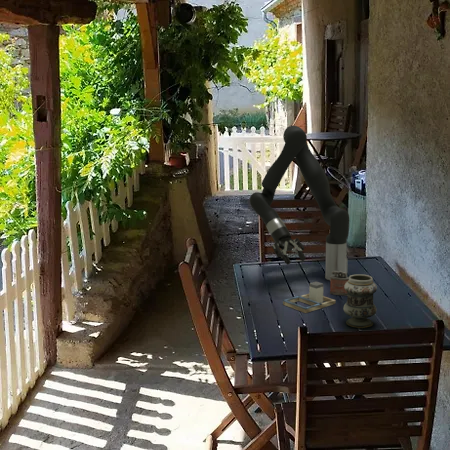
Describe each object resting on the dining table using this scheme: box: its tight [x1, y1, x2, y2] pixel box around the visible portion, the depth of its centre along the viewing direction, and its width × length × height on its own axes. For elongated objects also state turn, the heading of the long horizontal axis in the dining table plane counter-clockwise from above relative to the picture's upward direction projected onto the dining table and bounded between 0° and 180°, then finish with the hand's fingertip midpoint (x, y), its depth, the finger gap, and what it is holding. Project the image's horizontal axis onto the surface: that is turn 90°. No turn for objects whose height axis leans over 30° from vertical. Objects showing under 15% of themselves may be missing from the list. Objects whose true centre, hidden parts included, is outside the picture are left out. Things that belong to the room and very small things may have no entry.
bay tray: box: [282, 293, 336, 314], centre depth 256 cm, size 17×13×2 cm
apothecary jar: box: [342, 273, 378, 329], centre depth 233 cm, size 12×12×18 cm
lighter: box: [329, 271, 350, 296], centre depth 268 cm, size 8×3×10 cm, turn 71°
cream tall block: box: [308, 281, 324, 303], centre depth 258 cm, size 4×4×8 cm
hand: (296, 261), depth 265 cm, fingers open, 8 cm apart
